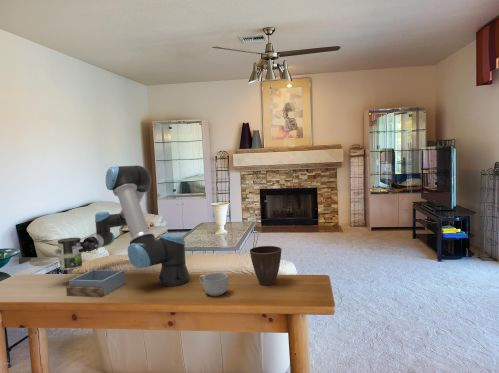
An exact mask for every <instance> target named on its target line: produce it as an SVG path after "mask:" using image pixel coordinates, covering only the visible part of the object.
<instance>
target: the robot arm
mask: <svg viewBox="0 0 499 373" xmlns="http://www.w3.org/2000/svg"><path fill="white" fill-rule="evenodd" d="M105 186H106V189H107V190H108V191H112V193H113V196H115V197H117V198H118V201H119V205H120V207H121V210H120V211H119V213H112V214H110V212H109V211H98V212H96V213H95V217H94V218H95V220H94V223H95V235H91V236H87V237H86V238H84V240H83V241H80V242H81V247H80V248H77V249H74V250H73V255H77V254H80V253H81V254H82V253H86V252H88V253H89V252H92V251H95V250H99V249H100V248H104V247H107V246H110V245H111V244H112V243H114V241H115V235H114V233H113V232H111V228H118V227H125V226H127V228H128V229H127V230H128V232H129V235H130V237H131V239H130V240H129V245H128V247H127V256H128V259H129V261H130V264H132V266H133V267H134V268H137V269H143V268H148V267H151V266H152V267H153V266H156V265H161V268H160V272H159V274H158V275H159V276H158V284H159V285H160V286H165V287H174V286H181V285H185V284H186V283H189V282H190V281H191V276H190V273H189V270H188V268H187V265H186V250H185V249H186V246H185V244H186V243H185V238H184V236H182V234H181V235H180V234H168V233H167V234H160V235H159V238H157V239H156V238H155V234H154V233H151V232H150V229H149V227H148V224H147V221H146V218H145V215H144V212H143V210H142V206H141V202H142V200H143V197H144V196H145V194H146V192H148V191H149V190H150V189H151V186H152V175H151V173H150V172H149V170H148V169H147V168H146V167H143V166H141V165H116V166H110V167H108V168H107V171H106V174H105ZM53 255H54V256H59V249H58V248H56V249H55V248H54V249H53Z"/></svg>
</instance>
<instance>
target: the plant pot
mask: <svg viewBox="0 0 499 373" xmlns="http://www.w3.org/2000/svg"><path fill="white" fill-rule="evenodd" d="M249 255H250V259H251V263H252V268H253V270H254V273H255V276H256V278H257V280H258V282H259V283H258V284H260V285H262V286H272V285H274V284H275V283H276V282H277V278H278V275H279V270H280V264H281V260H282V258H281V257H282V248H281V247H279V246H275V245H274V246H273V245H262V246H256V247H252V248H250V249H249Z"/></svg>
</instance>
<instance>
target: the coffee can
mask: <svg viewBox="0 0 499 373" xmlns="http://www.w3.org/2000/svg"><path fill="white" fill-rule="evenodd" d="M81 240H82V239H81V237H68V238H67V237H65V238H61V239H58V240H57V245H58V246H57V247H58V248H57V249H59V254H58V260H59V261H58V263H59V270H61V271H67V270H75V269H79V268H81V267H83V259H82V258H83V257H82V253H80V254H77V255H73V250H74V249H77V248H80V247H81V242H82V241H81Z"/></svg>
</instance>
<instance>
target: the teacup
mask: <svg viewBox="0 0 499 373" xmlns="http://www.w3.org/2000/svg"><path fill="white" fill-rule="evenodd" d="M228 278H229V277H228V274H227V273H225V272H221V271H220V272H217V271H216V272H210V273H207V274H201V275H200V276H199V282H200V284H201V285H203V289H204V292H205V293H206V294H208V296H211V297H218V296H221V295H224V293H225V292H226V291H227V290H228V287H229V285H228V284H229V283H228V282H229V280H228Z"/></svg>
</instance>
